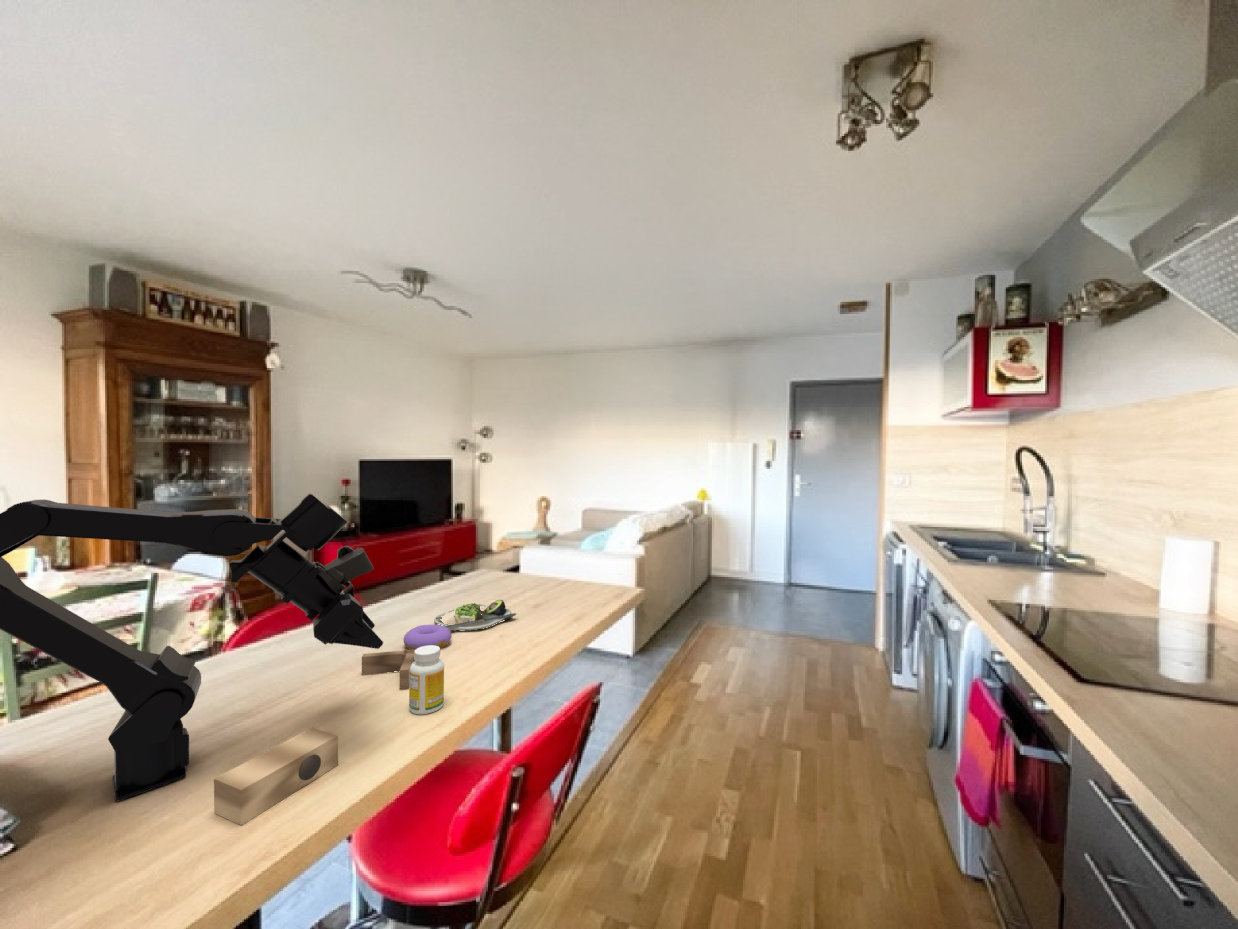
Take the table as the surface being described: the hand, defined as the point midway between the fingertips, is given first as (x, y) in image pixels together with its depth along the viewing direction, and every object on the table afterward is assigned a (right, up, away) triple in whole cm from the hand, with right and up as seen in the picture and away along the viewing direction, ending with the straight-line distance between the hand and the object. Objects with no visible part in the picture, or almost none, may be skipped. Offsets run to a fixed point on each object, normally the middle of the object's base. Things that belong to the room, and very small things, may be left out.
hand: (376, 636), depth 78 cm
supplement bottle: (+6, -13, +4) cm, 15 cm away
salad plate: (+2, -13, +49) cm, 51 cm away
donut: (-4, -13, +32) cm, 34 cm away
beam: (-4, -13, -16) cm, 21 cm away
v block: (-4, -13, +17) cm, 21 cm away
